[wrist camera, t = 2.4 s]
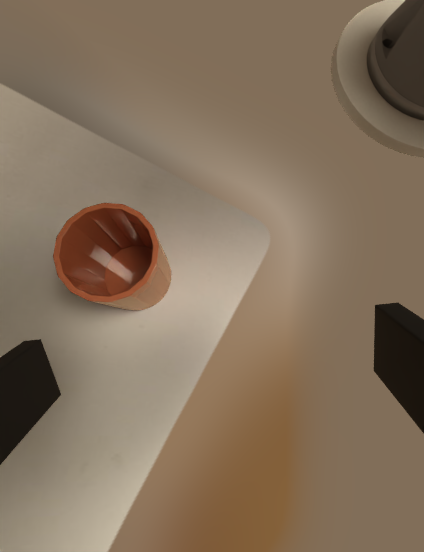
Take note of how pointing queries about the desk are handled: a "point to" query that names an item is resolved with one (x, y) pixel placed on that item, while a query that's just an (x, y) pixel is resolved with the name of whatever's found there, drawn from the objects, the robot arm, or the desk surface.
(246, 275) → the desk surface
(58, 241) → the cup
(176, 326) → the desk surface
